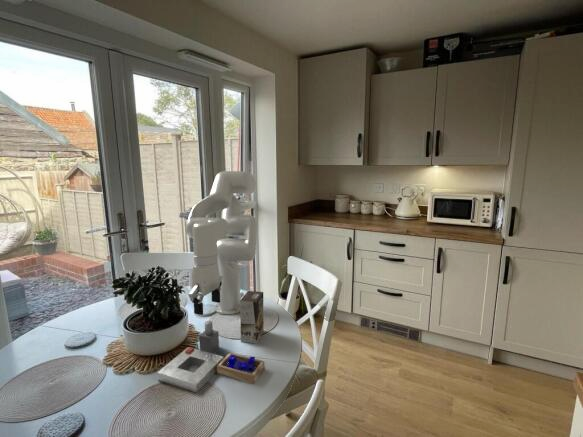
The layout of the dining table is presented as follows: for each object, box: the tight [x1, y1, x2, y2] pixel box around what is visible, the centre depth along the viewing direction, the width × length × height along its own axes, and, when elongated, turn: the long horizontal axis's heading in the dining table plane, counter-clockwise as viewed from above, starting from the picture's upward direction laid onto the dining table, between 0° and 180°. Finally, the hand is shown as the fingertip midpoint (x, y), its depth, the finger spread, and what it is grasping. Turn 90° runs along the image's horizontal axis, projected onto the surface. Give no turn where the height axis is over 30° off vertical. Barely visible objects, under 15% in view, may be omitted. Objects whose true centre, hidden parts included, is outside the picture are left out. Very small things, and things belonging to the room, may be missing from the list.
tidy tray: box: [216, 352, 266, 384], centre depth 100 cm, size 8×13×2 cm, turn 69°
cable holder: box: [226, 355, 256, 373], centre depth 101 cm, size 8×4×4 cm, turn 83°
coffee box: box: [239, 290, 265, 344], centre depth 119 cm, size 9×6×16 cm
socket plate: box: [157, 346, 225, 393], centre depth 100 cm, size 14×14×3 cm
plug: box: [198, 320, 220, 354], centre depth 111 cm, size 5×5×10 cm
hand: (207, 307), depth 108 cm, fingers open, 9 cm apart
